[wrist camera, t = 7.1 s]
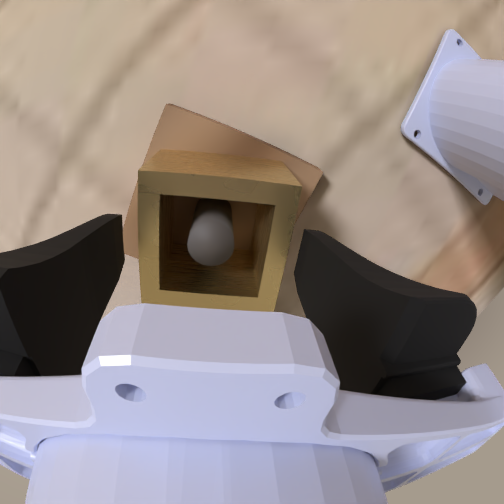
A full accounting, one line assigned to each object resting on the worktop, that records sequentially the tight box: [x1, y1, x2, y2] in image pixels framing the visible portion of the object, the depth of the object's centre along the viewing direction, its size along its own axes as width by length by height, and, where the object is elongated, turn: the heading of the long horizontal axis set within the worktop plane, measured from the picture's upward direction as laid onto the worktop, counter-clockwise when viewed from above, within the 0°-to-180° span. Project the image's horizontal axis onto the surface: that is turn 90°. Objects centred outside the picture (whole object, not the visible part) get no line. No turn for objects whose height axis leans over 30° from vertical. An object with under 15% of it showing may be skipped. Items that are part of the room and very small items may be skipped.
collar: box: [138, 149, 302, 312], centre depth 13 cm, size 6×6×4 cm
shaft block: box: [123, 104, 323, 266], centre depth 14 cm, size 8×8×4 cm
